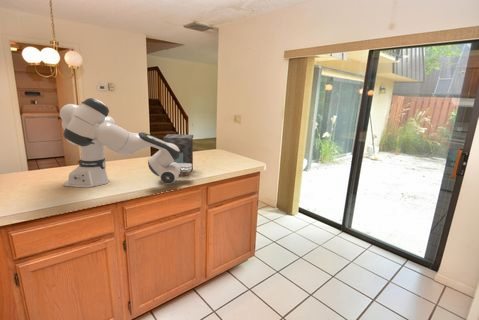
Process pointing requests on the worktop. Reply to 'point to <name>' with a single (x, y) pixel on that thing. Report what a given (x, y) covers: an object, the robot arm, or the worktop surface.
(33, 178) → the worktop surface
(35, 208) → the worktop surface
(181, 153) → the peg
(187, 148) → the dark grey upright block
